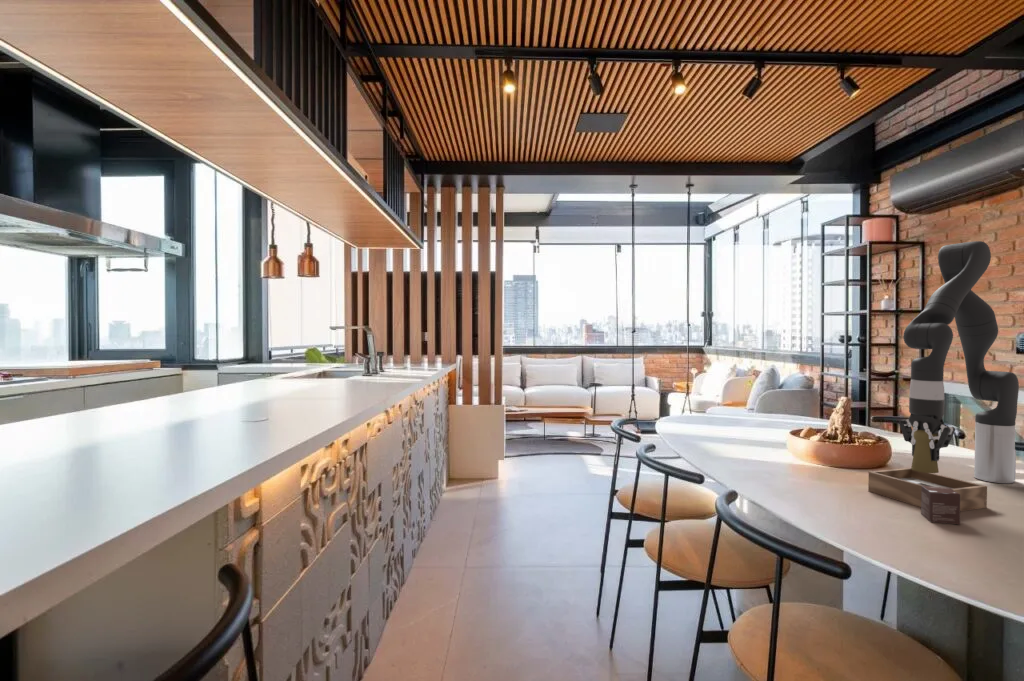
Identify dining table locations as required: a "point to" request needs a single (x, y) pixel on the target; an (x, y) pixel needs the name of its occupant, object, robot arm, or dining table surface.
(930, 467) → the cork
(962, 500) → the wooden tray
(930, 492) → the box
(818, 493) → the dining table surface
